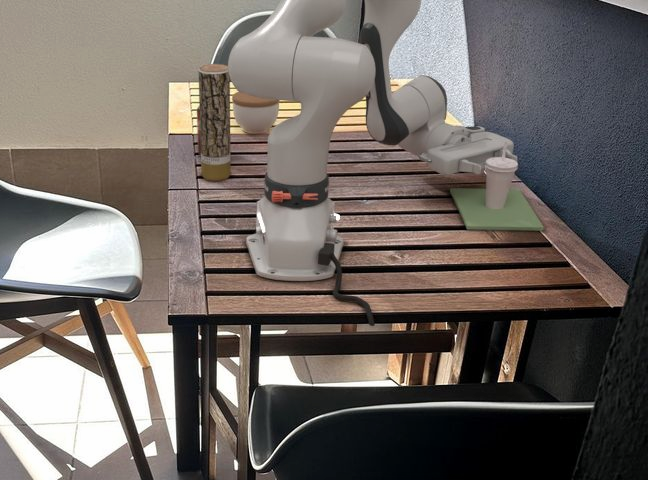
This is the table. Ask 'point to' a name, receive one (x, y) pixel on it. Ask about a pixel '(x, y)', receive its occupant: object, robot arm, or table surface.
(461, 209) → the pad
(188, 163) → the table surface
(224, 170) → the paper tube
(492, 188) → the smoothie
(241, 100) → the lidded bowl
